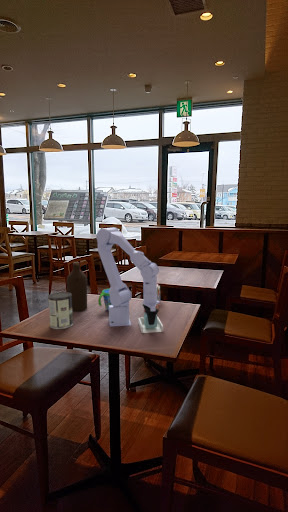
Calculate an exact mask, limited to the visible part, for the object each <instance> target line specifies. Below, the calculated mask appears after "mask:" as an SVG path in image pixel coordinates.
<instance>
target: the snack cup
mask: <svg viewBox="0 0 288 512" xmlns="http://www.w3.org/2000/svg"><path fill="white" fill-rule="evenodd" d="M109 290H110V287H109V288H106V289H105V288H104V289H102V291H101V293H100V294H99V296H98V306H100V307H102V306H103V305H102V298H103V301H104V308H105V310H106V311H108V312H109V305H112V304H111V302H110V294H109Z"/></svg>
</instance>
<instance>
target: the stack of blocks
mask: <svg viewBox="0 0 288 512" xmlns="http://www.w3.org/2000/svg"><path fill="white" fill-rule="evenodd" d="M157 301H159V302H160V303H158V304H157V305H156V307H155V308H156V309H158V310H159V306H160V304H161V285H159V284H158V283H157ZM143 309H144V308H143ZM144 313H145V309H144V310H143V314H144Z"/></svg>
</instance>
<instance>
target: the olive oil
mask: <svg viewBox="0 0 288 512" xmlns="http://www.w3.org/2000/svg"><path fill="white" fill-rule="evenodd" d="M80 267H81V266H80V262H79V261H74V262H72V270H71V272H70V273H69V274H68V276H67V277H66V289H67V290H66V291H67V292H68V293H71V294H72V313H73V312H83V311H84V312H85V311H86V310H87V309H88V278H87V275H86V274H85V273H84V272H83V271H82V270H81V268H80Z"/></svg>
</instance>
